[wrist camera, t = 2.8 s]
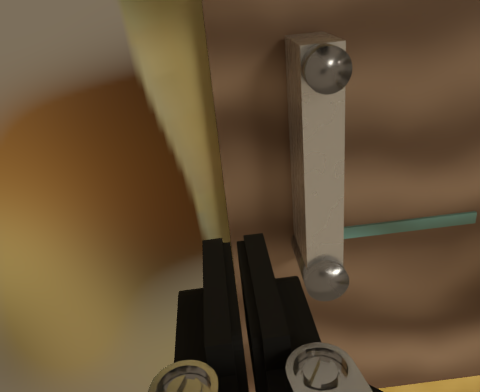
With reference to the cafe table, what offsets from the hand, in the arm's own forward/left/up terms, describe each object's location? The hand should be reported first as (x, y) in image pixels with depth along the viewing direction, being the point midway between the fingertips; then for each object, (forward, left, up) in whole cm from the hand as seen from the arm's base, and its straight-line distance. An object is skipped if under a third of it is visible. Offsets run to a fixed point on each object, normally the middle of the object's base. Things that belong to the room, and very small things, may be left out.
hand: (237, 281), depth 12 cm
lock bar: (+2, +5, -14) cm, 15 cm away
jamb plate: (+8, +10, -16) cm, 20 cm away
